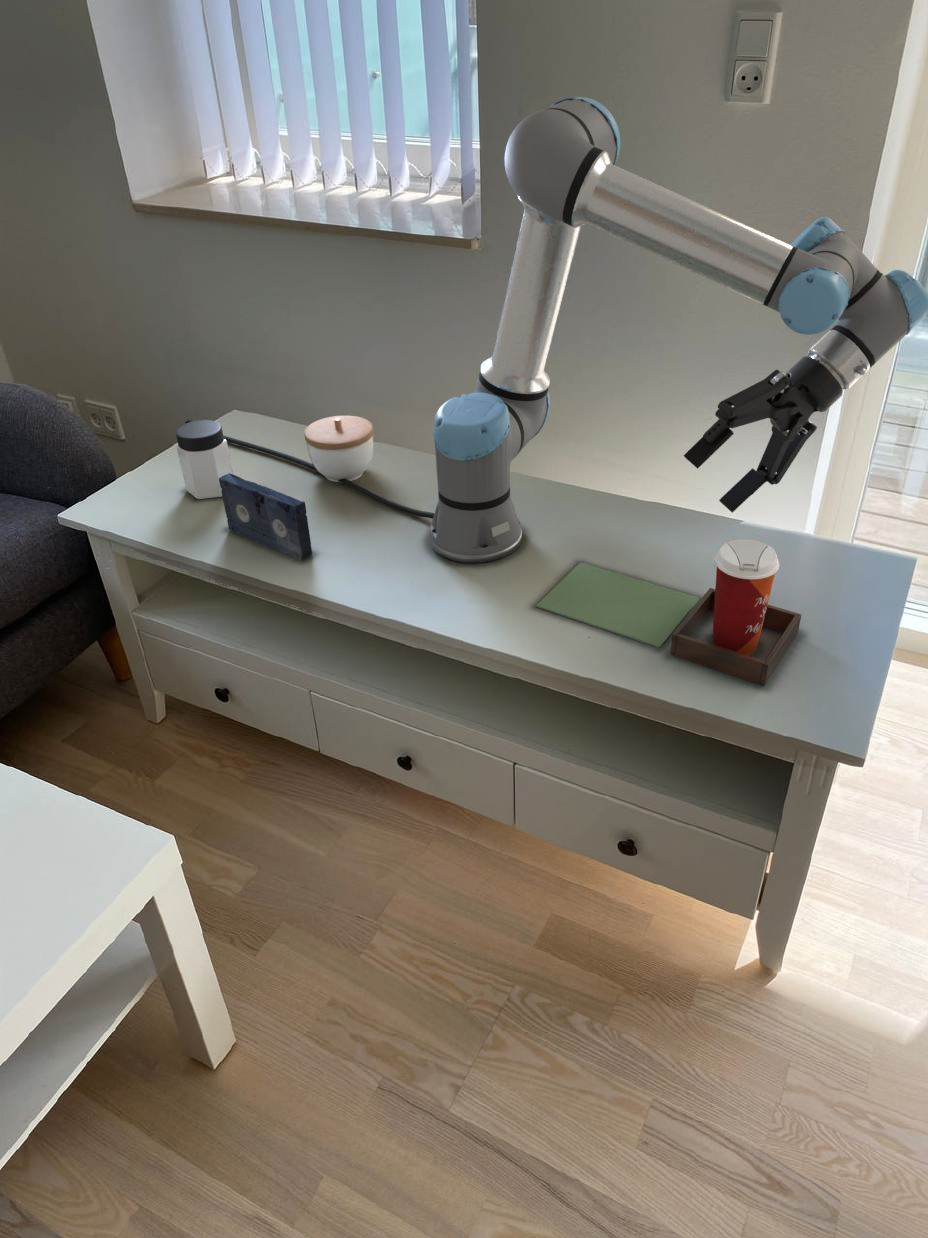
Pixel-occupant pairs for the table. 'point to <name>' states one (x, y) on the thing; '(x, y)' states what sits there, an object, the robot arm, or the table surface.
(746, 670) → the crate
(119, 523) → the table surface
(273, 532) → the vhs cassette tape
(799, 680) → the table surface
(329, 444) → the lidded bowl
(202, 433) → the jar
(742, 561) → the coffee cup
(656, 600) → the mat
